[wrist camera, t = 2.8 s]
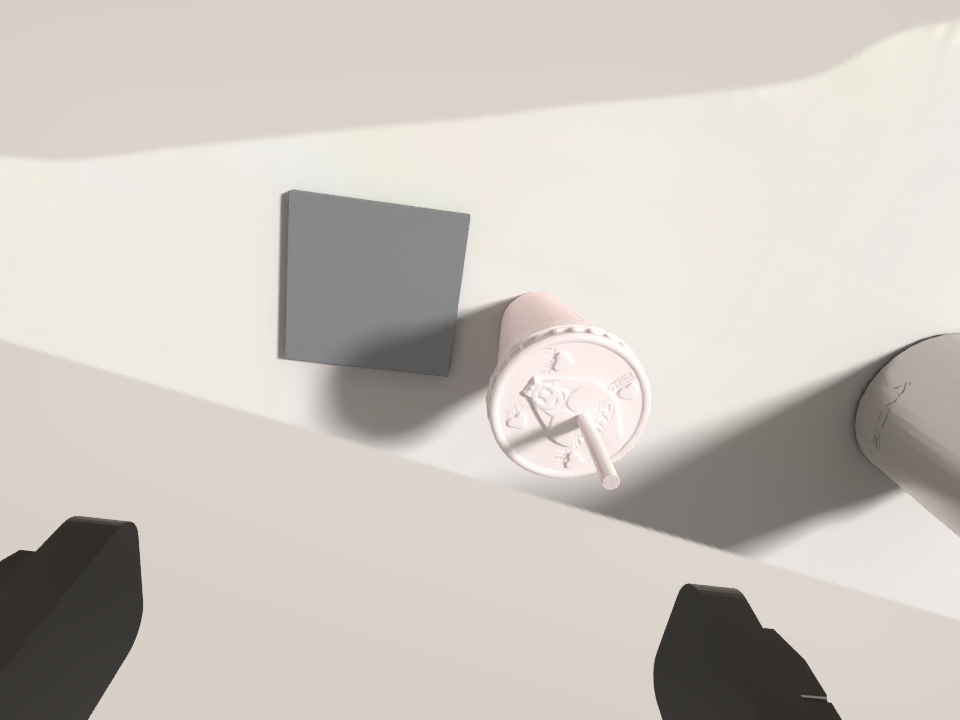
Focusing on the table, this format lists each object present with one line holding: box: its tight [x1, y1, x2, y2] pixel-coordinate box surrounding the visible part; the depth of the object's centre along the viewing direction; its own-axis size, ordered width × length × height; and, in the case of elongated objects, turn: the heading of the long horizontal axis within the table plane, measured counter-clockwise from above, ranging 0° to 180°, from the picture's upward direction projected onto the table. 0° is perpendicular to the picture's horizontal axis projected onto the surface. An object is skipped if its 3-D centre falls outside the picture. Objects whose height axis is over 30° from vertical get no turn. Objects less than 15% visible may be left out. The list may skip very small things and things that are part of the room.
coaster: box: [285, 190, 470, 377], centre depth 30 cm, size 8×8×1 cm
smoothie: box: [486, 292, 652, 489], centre depth 26 cm, size 6×6×14 cm
